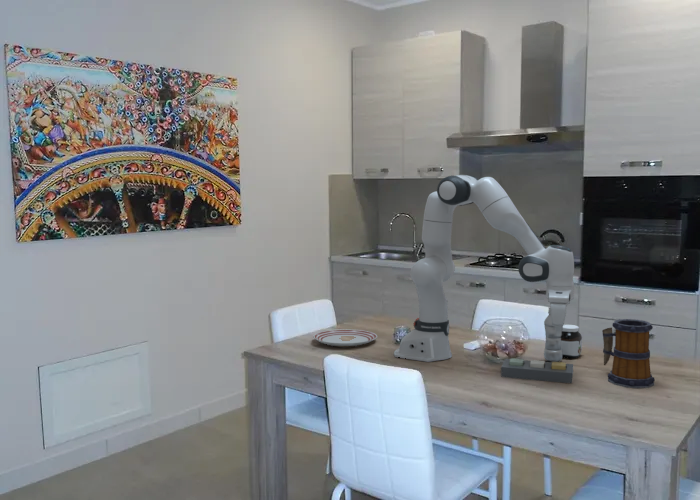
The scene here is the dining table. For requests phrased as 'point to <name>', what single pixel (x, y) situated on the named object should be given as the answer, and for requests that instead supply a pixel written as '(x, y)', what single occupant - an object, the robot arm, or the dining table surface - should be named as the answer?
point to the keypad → (537, 372)
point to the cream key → (537, 364)
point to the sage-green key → (516, 362)
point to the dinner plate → (333, 335)
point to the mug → (629, 353)
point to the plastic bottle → (552, 341)
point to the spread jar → (571, 342)
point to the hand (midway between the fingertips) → (559, 333)
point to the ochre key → (559, 365)
